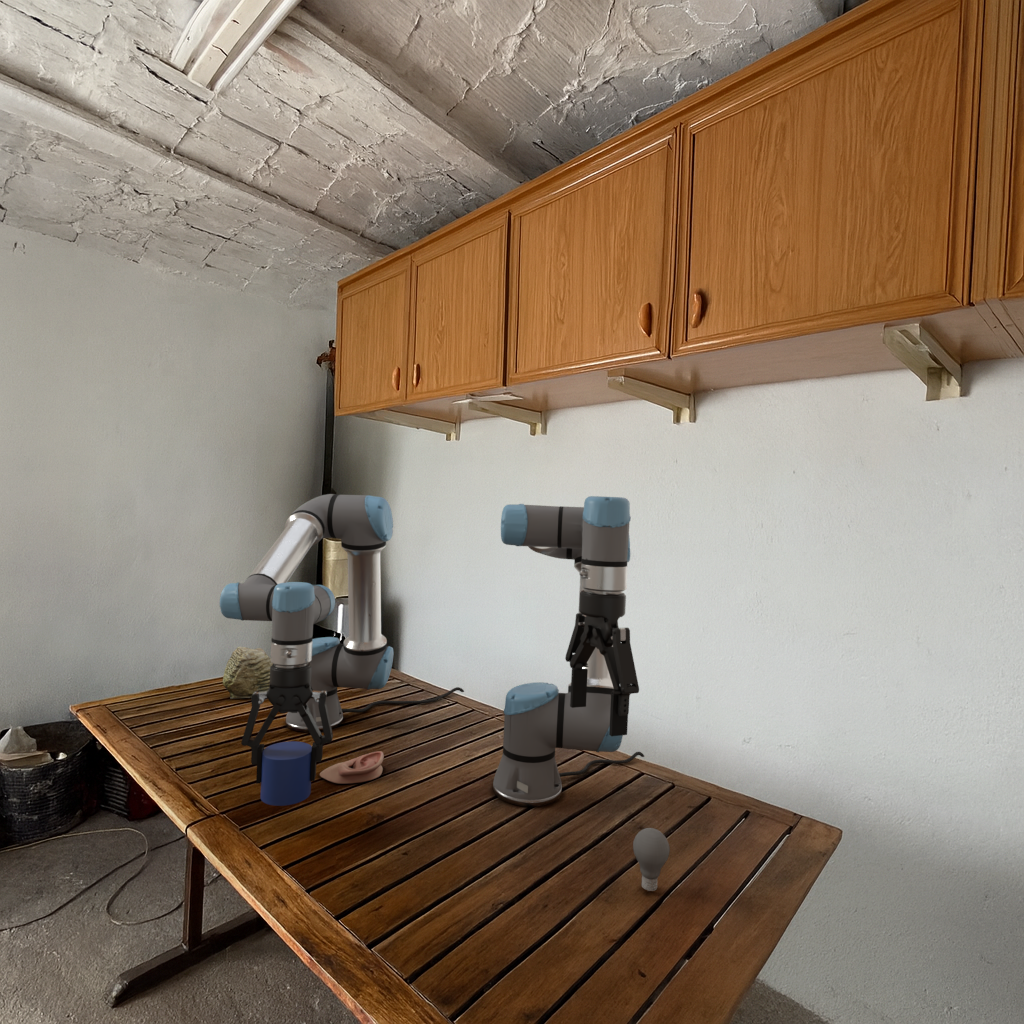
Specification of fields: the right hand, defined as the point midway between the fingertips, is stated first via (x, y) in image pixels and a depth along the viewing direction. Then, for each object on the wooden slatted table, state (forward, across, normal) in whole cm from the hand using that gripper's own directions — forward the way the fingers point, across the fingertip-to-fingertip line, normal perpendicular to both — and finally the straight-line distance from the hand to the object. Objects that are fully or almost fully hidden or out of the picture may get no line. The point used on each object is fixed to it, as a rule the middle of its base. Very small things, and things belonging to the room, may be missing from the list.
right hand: (596, 720), depth 104 cm
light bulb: (+29, +2, +10) cm, 31 cm away
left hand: (+20, -37, -46) cm, 63 cm away
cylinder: (+23, -37, -46) cm, 64 cm away
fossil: (+29, -121, -54) cm, 135 cm away
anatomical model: (+29, -56, -32) cm, 70 cm away
